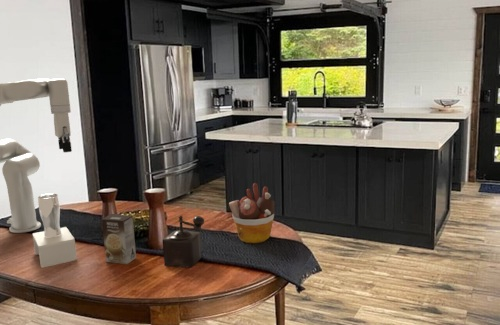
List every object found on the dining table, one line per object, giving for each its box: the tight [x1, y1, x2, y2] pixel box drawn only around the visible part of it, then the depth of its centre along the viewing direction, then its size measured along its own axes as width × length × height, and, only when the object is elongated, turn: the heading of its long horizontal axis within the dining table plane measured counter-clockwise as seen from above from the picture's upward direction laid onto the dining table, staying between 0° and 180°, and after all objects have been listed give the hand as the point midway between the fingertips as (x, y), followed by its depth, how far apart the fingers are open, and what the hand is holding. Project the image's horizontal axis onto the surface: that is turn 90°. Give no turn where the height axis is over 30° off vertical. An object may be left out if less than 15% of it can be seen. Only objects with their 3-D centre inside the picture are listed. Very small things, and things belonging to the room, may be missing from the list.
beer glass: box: [37, 193, 62, 238], centre depth 177 cm, size 7×7×15 cm
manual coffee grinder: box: [161, 215, 205, 268], centre depth 168 cm, size 16×11×18 cm
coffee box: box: [101, 213, 137, 265], centre depth 173 cm, size 9×6×16 cm
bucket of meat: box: [228, 182, 275, 244], centre depth 188 cm, size 20×16×20 cm
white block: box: [31, 226, 78, 269], centre depth 179 cm, size 16×12×8 cm
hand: (65, 150), depth 204 cm, fingers open, 9 cm apart
